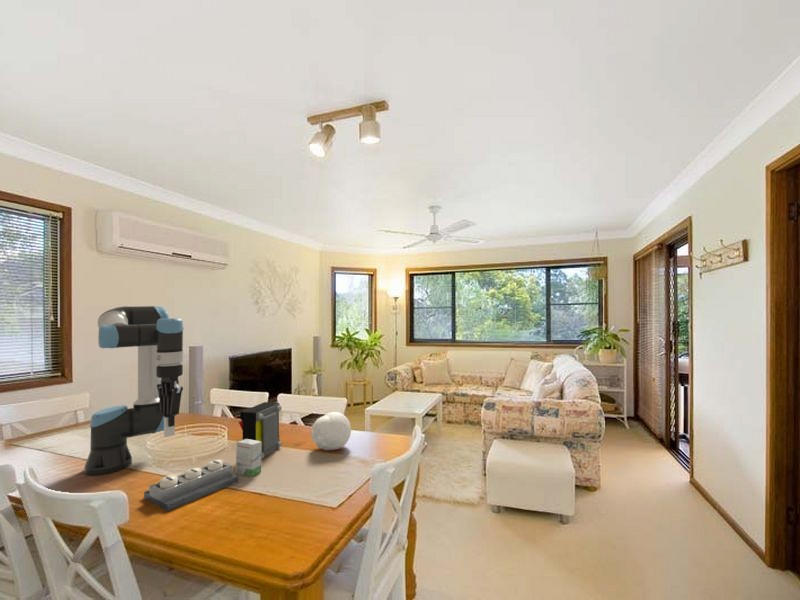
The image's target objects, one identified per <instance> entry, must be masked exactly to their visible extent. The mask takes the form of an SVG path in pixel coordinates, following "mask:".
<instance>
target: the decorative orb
mask: <svg viewBox="0 0 800 600" xmlns="http://www.w3.org/2000/svg"><path fill="white" fill-rule="evenodd" d="M351 426H352V425H351V423H350V420H349V419H348V417H346V416H345V414H343V413H341V412H339V411H332V412H328V413H326V414H325V415H323V416H321V417H319V418H317V419H316V420H315V422H314V423H313V426H312V431H311V440H312V441H313V443H314V445H315V446H317V448H318V449H319V450H320V449H323V450H324V451H330V450H331V451H334V450H335V451H336V450H338V449H341V448H343V447H344V446H345V445H346V444H347V443H348V441H349V440H350V438H351V434H352V427H351Z"/></svg>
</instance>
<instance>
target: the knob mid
mask: <svg viewBox="0 0 800 600" xmlns="http://www.w3.org/2000/svg"><path fill="white" fill-rule="evenodd" d="M184 473H185V479H187V480H191V479H194V478H197V477H200V476H201V467H192V468H189V469H186V470H185V472H184Z"/></svg>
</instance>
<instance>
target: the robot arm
mask: <svg viewBox="0 0 800 600" xmlns="http://www.w3.org/2000/svg"><path fill="white" fill-rule="evenodd" d="M97 327H98V332H97V333H98V335H97V336H98V339H97V340H98V346H99V348H100V349H116V348H117V349H118V348H119V349H120V348H133V347H137V399H136V400H135V401H134V402H133V405H132V406H133V407H131V408H128V406H127V405H126V404H125V405H124V404H123V405H116V406H111V407H107V408H103V409H100V410H98V411H96V412H94V413H93V414H92V415H91V417H90V425H89V428H90V450H89V455H88V457H87V459H86V461H85V464H84V470H83V471H84V474H85V475H87V476H100V475H106V474H111V473H114V472H118V471H121V470H124V469H126V468H128V467H130V466H131V465H132V463H133V457H132V454H131V452H130V449H129V446H128V441H127V440H128V438H134V437H139V436H144V435H149V434H156V433H161V432H163V437H164V438H168V437H173V436H175V435H176V434H175V433H176V431H175V430H176V427H175V426H176V420H175V419H176V416H177V415H180V408H181V407H180V406H181V399H182V393H183V390H184V387H183V386H180V385H179V384H180V383H179V377H181V376H182V375H183V372H184V371H183V370H184V369H183V367H184V366H183V364H182V363H183V362H184V351H183V348H184V347H183V345H184V343H183V342H184V324H183V319H182V318H180V317H179V318H178V317H177V318H172V317H171V318H170V317H169V312H168V311H167V309H166V308H165V307H164V306H154V305H153V306H152V305H151V306H144V305H143V306H119V307H114V308H111V309H108V310H106V311H104V312H103V313H102V314H100V315H99V317H98V320H97Z"/></svg>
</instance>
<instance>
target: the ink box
mask: <svg viewBox="0 0 800 600" xmlns="http://www.w3.org/2000/svg"><path fill="white" fill-rule="evenodd" d="M235 450H236V451H235V452H236V453H235V455H236V456H235V474H237V475H238V474H239V475H242V476H248V477H254V476H256V475H258V474H260V473H262V459H261V452H262V442H261V441H256V440H251V439H244V440H243V439H241V440H239V441H236V449H235Z"/></svg>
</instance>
